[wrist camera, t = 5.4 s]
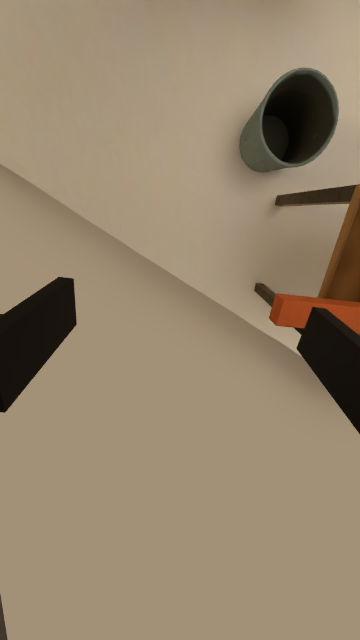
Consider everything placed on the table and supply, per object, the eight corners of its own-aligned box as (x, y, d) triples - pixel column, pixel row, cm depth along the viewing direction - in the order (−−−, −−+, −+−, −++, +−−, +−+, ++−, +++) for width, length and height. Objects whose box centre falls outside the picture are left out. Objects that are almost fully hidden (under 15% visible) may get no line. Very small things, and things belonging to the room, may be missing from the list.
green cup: (234, 110, 41) (258, 73, 30) (297, 101, 41) (344, 60, 30) (237, 181, 45) (259, 172, 34) (294, 173, 45) (335, 160, 34)
